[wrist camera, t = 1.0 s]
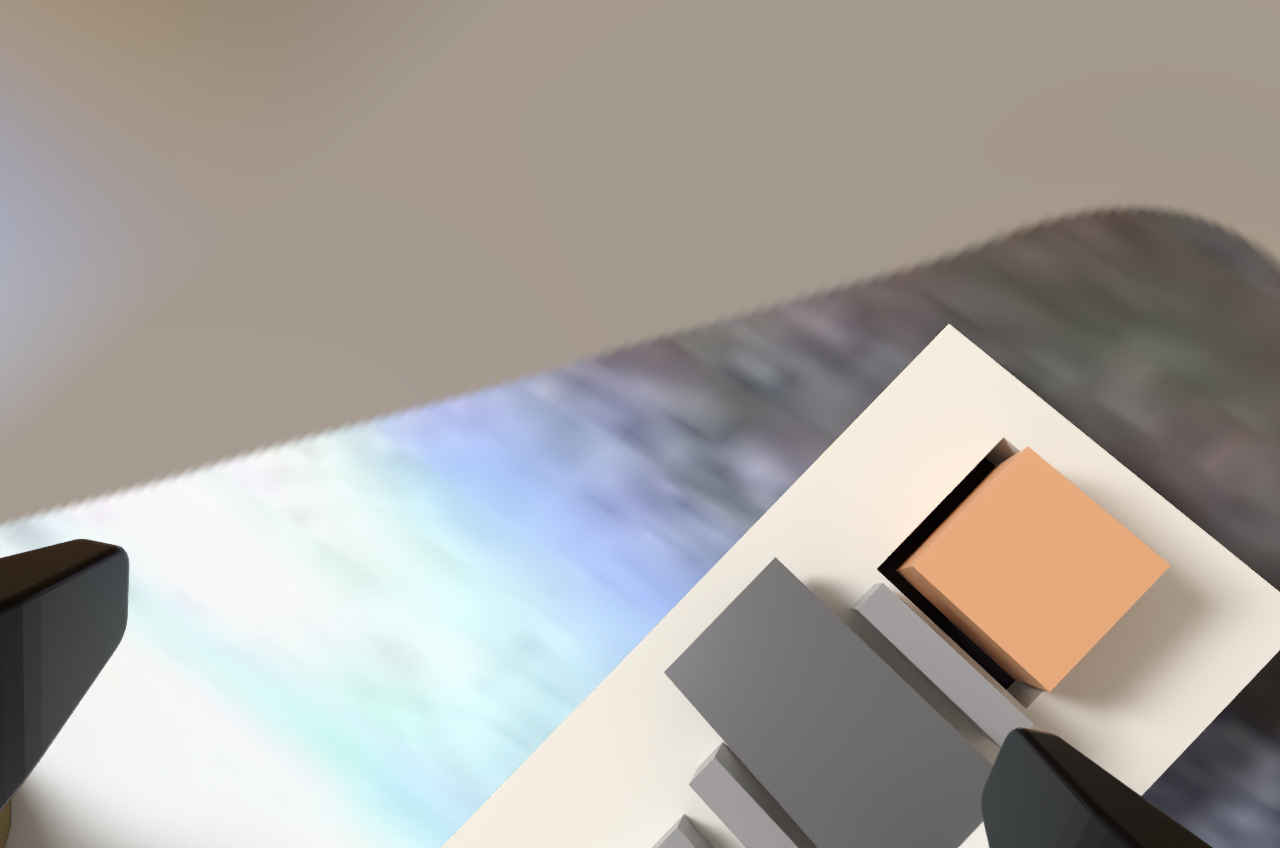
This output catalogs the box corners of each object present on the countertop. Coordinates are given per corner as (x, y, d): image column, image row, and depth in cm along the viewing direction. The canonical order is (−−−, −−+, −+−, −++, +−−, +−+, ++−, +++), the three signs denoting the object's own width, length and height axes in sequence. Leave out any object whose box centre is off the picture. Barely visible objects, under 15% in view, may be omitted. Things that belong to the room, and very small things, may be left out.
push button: (1116, 570, 20) (1170, 565, 17) (1012, 678, 20) (1049, 691, 17) (995, 466, 21) (1028, 446, 18) (895, 570, 21) (912, 565, 18)
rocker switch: (1081, 851, 16) (1090, 859, 15) (952, 988, 16) (953, 1004, 15) (782, 565, 20) (774, 555, 19) (676, 675, 20) (662, 672, 19)
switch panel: (1250, 614, 21) (1370, 620, 17) (742, 1150, 21) (729, 1298, 16) (932, 351, 24) (964, 296, 19) (476, 822, 23) (403, 875, 19)
